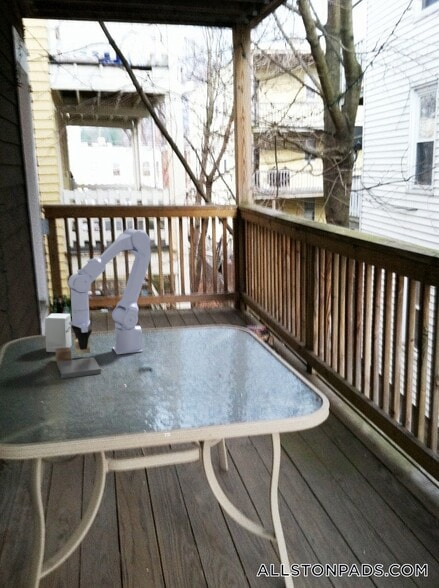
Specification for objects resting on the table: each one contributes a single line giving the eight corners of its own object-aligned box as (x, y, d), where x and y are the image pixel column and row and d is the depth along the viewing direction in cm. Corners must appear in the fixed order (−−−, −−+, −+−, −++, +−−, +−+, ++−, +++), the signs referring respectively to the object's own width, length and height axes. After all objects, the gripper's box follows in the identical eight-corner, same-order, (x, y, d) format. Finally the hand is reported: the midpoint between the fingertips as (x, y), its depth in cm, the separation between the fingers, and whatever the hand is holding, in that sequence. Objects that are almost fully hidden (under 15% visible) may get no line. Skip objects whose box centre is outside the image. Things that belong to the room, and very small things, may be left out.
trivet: (93, 361, 180) (93, 357, 180) (100, 373, 170) (100, 368, 169) (57, 365, 175) (57, 361, 175) (62, 378, 165) (62, 373, 164)
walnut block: (69, 359, 182) (69, 347, 181) (71, 363, 178) (71, 351, 177) (56, 361, 180) (55, 348, 179) (57, 365, 176) (57, 352, 175)
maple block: (87, 348, 186) (87, 336, 185) (90, 352, 182) (89, 340, 181) (74, 350, 184) (73, 338, 183) (76, 354, 180) (75, 341, 179)
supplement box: (66, 352, 189) (64, 318, 186) (45, 352, 189) (43, 317, 186) (72, 346, 196) (71, 313, 194) (52, 345, 196) (50, 312, 194)
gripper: (65, 305, 185) (67, 342, 188) (71, 315, 172) (73, 354, 175) (85, 303, 187) (87, 340, 190) (93, 313, 175) (95, 352, 177)
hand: (82, 347), depth 183 cm, fingers closed on maple block, 4 cm apart
